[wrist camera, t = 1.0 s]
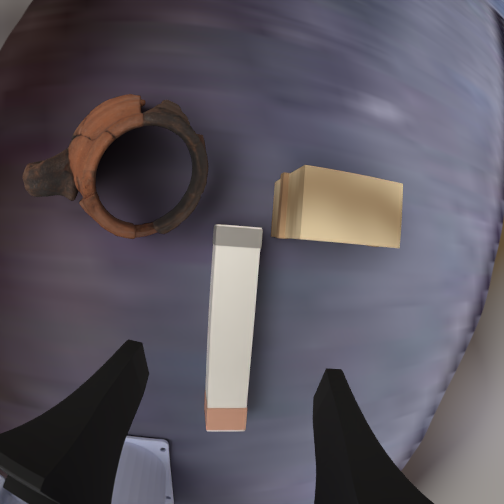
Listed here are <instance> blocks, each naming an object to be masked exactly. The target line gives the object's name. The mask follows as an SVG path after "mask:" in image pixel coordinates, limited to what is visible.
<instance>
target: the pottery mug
mask: <svg viewBox="0 0 504 504" xmlns="http://www.w3.org/2000/svg"><path fill="white" fill-rule="evenodd" d="M144 105H145V100H142V99H141V96H139V95H138V96H136V95H132V94H129V95H123V96H118V97H115V98H113V99H109V100H107V101H105V102H103V103H102V104H100V105H99V106H97V107H96V108H95V109H93V110H92V111H91V112H90V114H89V115H88V116H87V117H86V118H85V119H84V120H83V121H82V122H81V123H80V125H79V126H78V128H77V129H76V131H75V132H74V134H73V136H72V141H71V143H70V145H69V148H67V149H66V150H64V151H63V152H61V153H59V154H57V155H55V156H53V157H51V158H49V159H47V160H44V161H39V162H34V163H29V164H28V165H27V166H26V168H25V170H24V174H23V181H24V184H25V189H26V190H27V191H28V192H29V194H30V195H31V196H34V197H42V196H53V195H62V196H65V197H66V198H68V199H69V200H71V201H73V200H75V198H76V196H77V193H78V191H80V193H81V194H82V196H83V198H82V199H81V200H80V202H79V203H80V205H81V207H82V208H83V209H84V210H85V211H86V212H87V213H88V215H90V216H91V217H92V218H93V219H94V220H95V221H96V222H98V224H99V225H100V226H101V227H103V228H104V229H106V230H107V231H109V232H111V233H113V234H114V235H116V236H120V237H124V238H130V239H134V238H135V237H143V236H148V235H151V234H154V233H157V232H159V233H161V234H165V233H168V232H169V231H171V230H172V229H174V228H176V227H177V226H178V225H179V224H180V223H181V222H183V221H184V220H185V219H186V218H187V217H188V216H189V215H190V214H191V213H192V212H193V211H194V209H195V207H196V206H197V204H198V202H199V200H200V198H201V194H202V193H203V191H204V188H205V186H206V183H207V175H208V160H207V154H206V150H205V142H204V138H203V135H199V134H196V133H195V131H194V130H193V129H192V128H191V126H190V123H189V121H188V118H187V116H186V115H185V114H184V113H183V112H182V111H181V109H180V107H179V105H177V104H175V103H173V102H171V101H169V100H164V101H162V103H161V104H159V105H157V106H155V107H154V108H152V109H150V110H148V111H146V112H144V113H142V112H141V107H142V106H144ZM143 126H159V127H163V128H166V129H169V130H171V131H172V132H174V133H175V134H177V135H178V136H179V137H181V138H182V140H183V141H184V142H185V143H186V145H187V147H188V149H189V152H190V155H191V158H192V177H191V181H190V184H189V187H188V189H187V191H186V193H185V195H184V196H183V198H182V199H181V201H180V202H179V203H178V205H177V206H176V207H175V208H174V209H173V210H171V211H170V212H169V213H167V214H166V215H164V216H163V217H161V218H159V219H157V220H155V221H154V222H152V223H145V224H142V225H134V224H133V223H129V222H125V221H122V220H119V219H117V218H116V217H114V216H113V215H111V214H110V213H109V212H108V211H107V210H106V209H105V208H104V206H103V205H102V203H101V201H100V199H99V196H98V194H97V192H96V172H97V167H98V164H99V162H100V159H101V157H102V155H103V154H104V152H105V150H106V149H107V148H108V147H109V145H110V144H111V143H112V142H113V141H114V140H115V139H117V138H118V137H120V136H121V135H122V134H124V133H126V132H128V131H130V130H132V129H135V128H139V127H143Z"/></svg>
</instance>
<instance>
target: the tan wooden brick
mask: <svg viewBox="0 0 504 504" xmlns="http://www.w3.org/2000/svg"><path fill="white" fill-rule="evenodd" d="M402 197H403V184H401V183H397V182H392V181H388V180H383V179H379V178H374V177H369V176H364V175H359V174H354V173H349V172H344V171H338V170H333V169H327V168H321V167H315V166H309V165H304V166H302V167H301V168H299V169H297V170H295V171H294V172H292V173H282V174H281V179H280V180H278V181H276V182H275V189H274V202H273V215H272V228H271V237H276V238H284V239H288V238H293V239H305V240H316V241H328V242H339V243H350V244H360V245H367V246H374V247H379V246H381V247H392V248H400V235H401V220H402Z"/></svg>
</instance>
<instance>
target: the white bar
mask: <svg viewBox="0 0 504 504" xmlns="http://www.w3.org/2000/svg"><path fill="white" fill-rule="evenodd" d="M262 233H263V230H262V228H257V227H245V226H233V225H220V224H217V225H215V226H214V232H213V254H212V269H211V284H210V301H209V319H208V339H207V363H206V390H205V407H204V411H205V421H206V430H207V431H244V430H245V429H246V418H247V396H248V385H249V374H250V363H251V351H252V340H253V328H254V317H255V305H256V293H257V281H258V269H259V257H260V249H261V246H262Z"/></svg>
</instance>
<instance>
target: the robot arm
mask: <svg viewBox="0 0 504 504" xmlns="http://www.w3.org/2000/svg"><path fill="white" fill-rule="evenodd" d="M148 376H149V371H148V367H147V362H146V358H145V354H144V349H143V344H142V343H141V342H137V341H132V340H127V341H126V342H125V343H124V344H123V345H122V346H121V347H120V348H119V349H118V350H117V351H116V352H115V354H114V355H113V356H112V357H111V358H110V359H109V360H108V361H107V362H106V363H105V364H104V365H103V366H102V367H101V368H100V369H99V370H98V371H97V372H96V373H95V374H94V375H93V376H91V377H90V378H89V379H88V380H87V381H86V382H85V383H84V384H82V385H81V386H80V387H79V388H78V389H77V390H76V391H74V392H73V393H72V394H71V395H69V396H68V397H67V398H66V399H64V400H63V401H61V402H60V403H59V404H57V405H56V406H54V407H53V408H51V409H50V410H48V411H47V412H45V413H43V414H42V415H40V416H38V417H36V418H35V419H33V420H31V421H29V422H27V423H25V424H23V425H21V426H19V427H17V428H14V429H12V430H9V431H7V432H4V433H1V434H0V469H1V470H2V471H4V472H5V473H6V474H8V476H7V478H4V477H3V476H1V475H0V504H174V498H173V488H172V478H171V467H170V455H169V443H168V442H167V441H166V440H164V439H153V438H143V437H134V436H127V434H128V431H129V429H130V426H131V424H132V421H133V419H134V416H135V414H136V412H137V409H138V407H139V404H140V402H141V399H142V397H143V394H144V391H145V387H146V383H147V380H148ZM313 429H314V443H315V456H316V489H315V501H314V504H434V503H433V502H432V501H430V500H429V499H428V498H427V497H425V496H424V495H423V494H422V493H421V492H420V491H419V490H418V489H417V488H416V487H415V486H414V485H413V484H412V483H411V482H410V481H409V480H408V479H407V478H406V477H405V475H404V474H403V473H402V472H401V471H400V470H399V469H398V467H397V466H396V465H395V464H394V463H393V461H392V460H391V459H390V457H389V456H388V455H387V453H386V452H385V450H384V449H383V448H382V446H381V445H380V443H379V442H378V440H377V438H376V437H375V435H374V433H373V432H372V430H371V428H370V427H369V425H368V423H367V421H366V420H365V418H364V416H363V414H362V412H361V410H360V408H359V406H358V404H357V402H356V400H355V398H354V396H353V394H352V391H351V389H350V387H349V385H348V382H347V380H346V378H345V375H344V373H343V371H342V370H341V369H326V370H325V373H324V375H323V377H322V379H321V382H320V384H319V386H318V389H317V391H316V393H315V395H314V401H313ZM161 448H165V449H161ZM168 496H169V497H168Z"/></svg>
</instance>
